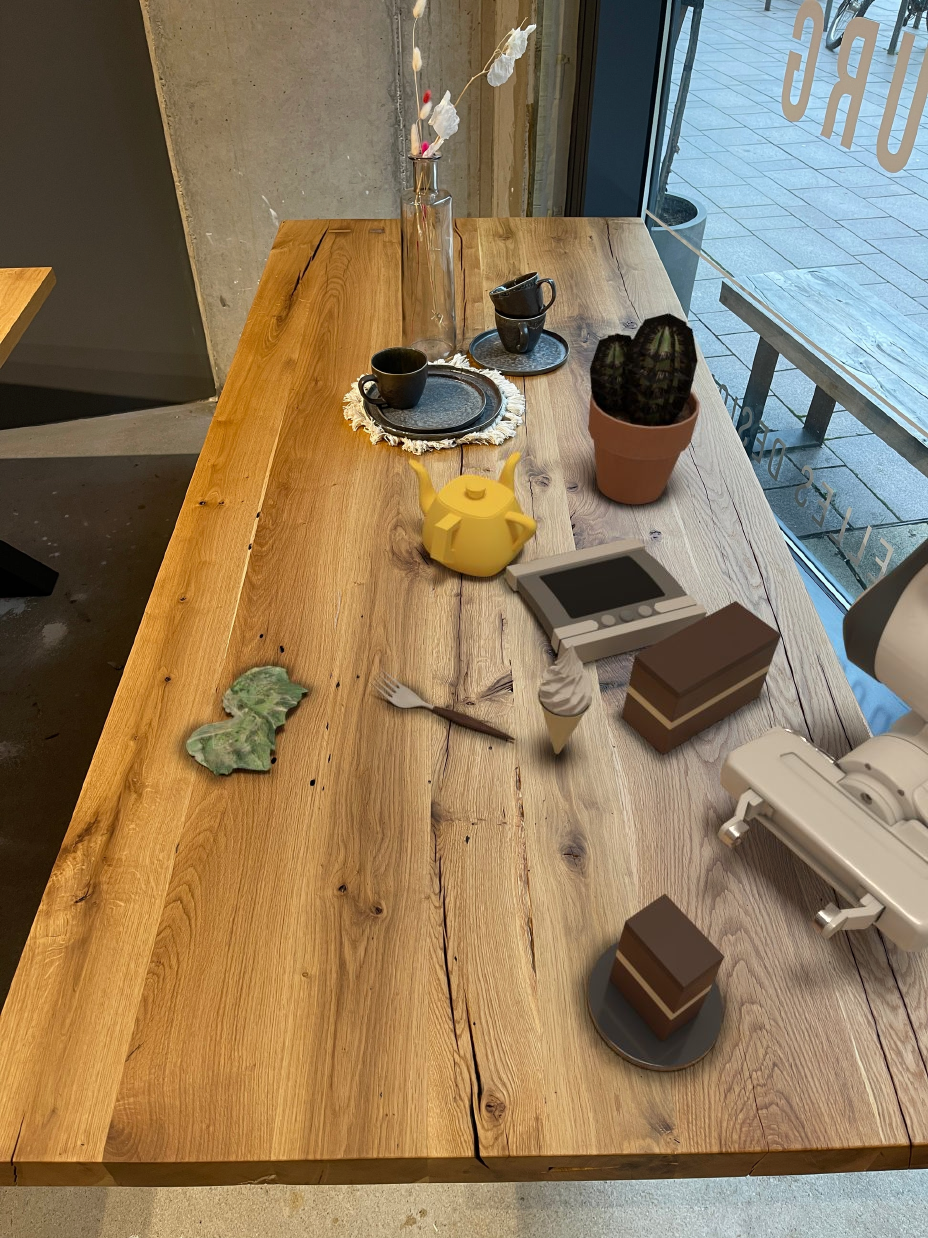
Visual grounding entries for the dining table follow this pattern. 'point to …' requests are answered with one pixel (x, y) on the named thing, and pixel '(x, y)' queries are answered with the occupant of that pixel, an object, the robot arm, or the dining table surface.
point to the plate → (635, 1036)
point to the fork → (433, 707)
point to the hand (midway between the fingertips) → (770, 881)
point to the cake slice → (664, 966)
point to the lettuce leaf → (247, 722)
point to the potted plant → (642, 407)
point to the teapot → (473, 521)
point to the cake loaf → (699, 676)
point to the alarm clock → (604, 599)
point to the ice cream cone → (565, 697)
